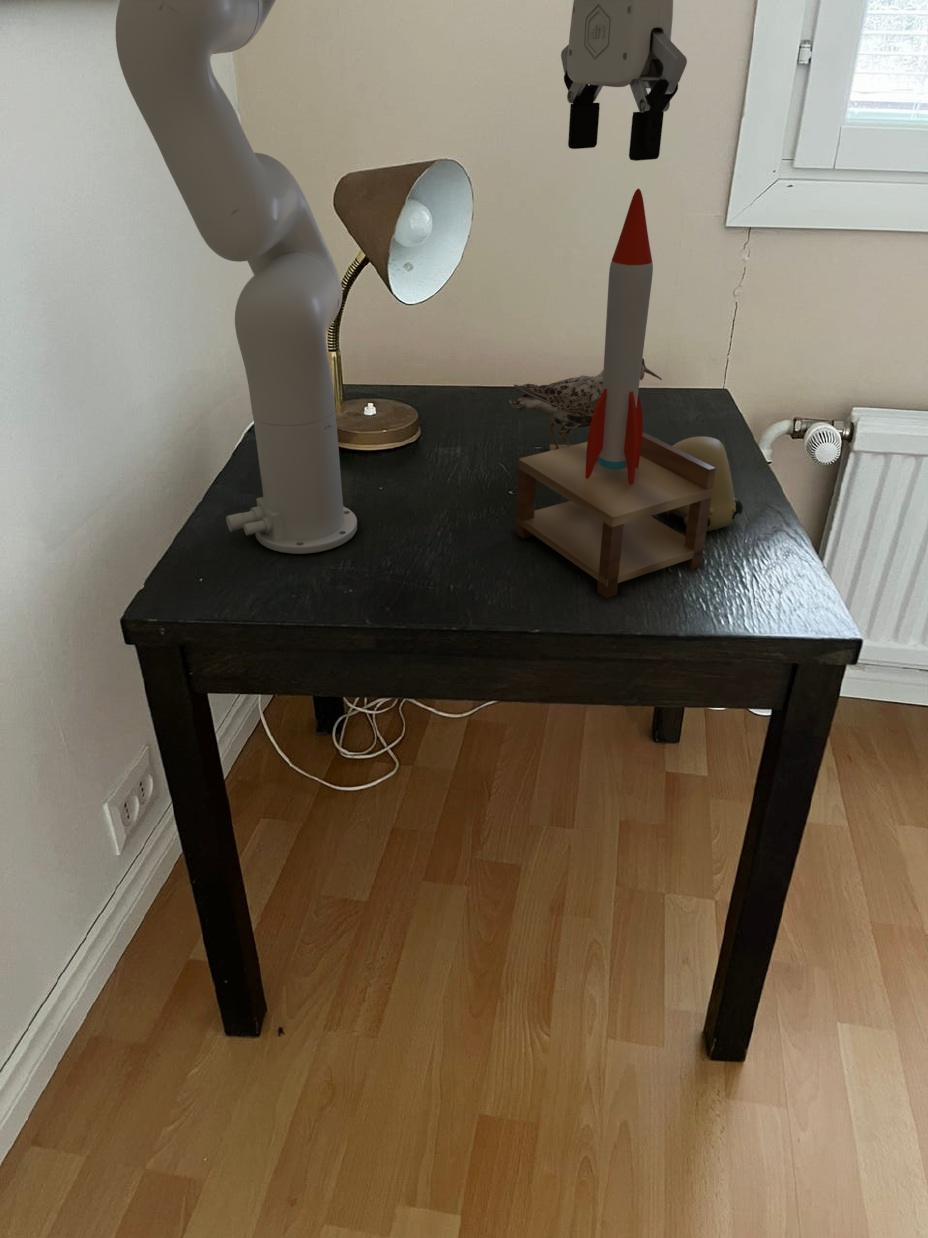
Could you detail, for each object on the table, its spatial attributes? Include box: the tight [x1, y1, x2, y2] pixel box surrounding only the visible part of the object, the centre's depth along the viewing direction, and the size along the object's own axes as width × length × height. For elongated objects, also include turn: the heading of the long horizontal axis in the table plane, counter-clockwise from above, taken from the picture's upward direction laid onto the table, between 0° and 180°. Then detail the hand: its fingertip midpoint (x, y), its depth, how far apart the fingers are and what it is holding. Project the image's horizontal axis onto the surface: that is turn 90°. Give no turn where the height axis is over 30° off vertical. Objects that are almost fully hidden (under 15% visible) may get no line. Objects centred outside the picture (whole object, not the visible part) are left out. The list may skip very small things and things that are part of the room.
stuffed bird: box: [509, 357, 663, 451], centre depth 132 cm, size 10×20×17 cm, turn 106°
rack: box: [515, 431, 716, 599], centre depth 111 cm, size 14×18×12 cm
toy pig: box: [669, 436, 744, 532], centre depth 119 cm, size 10×12×11 cm
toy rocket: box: [585, 187, 654, 485], centre depth 101 cm, size 6×6×30 cm
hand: (611, 153), depth 93 cm, fingers open, 9 cm apart
